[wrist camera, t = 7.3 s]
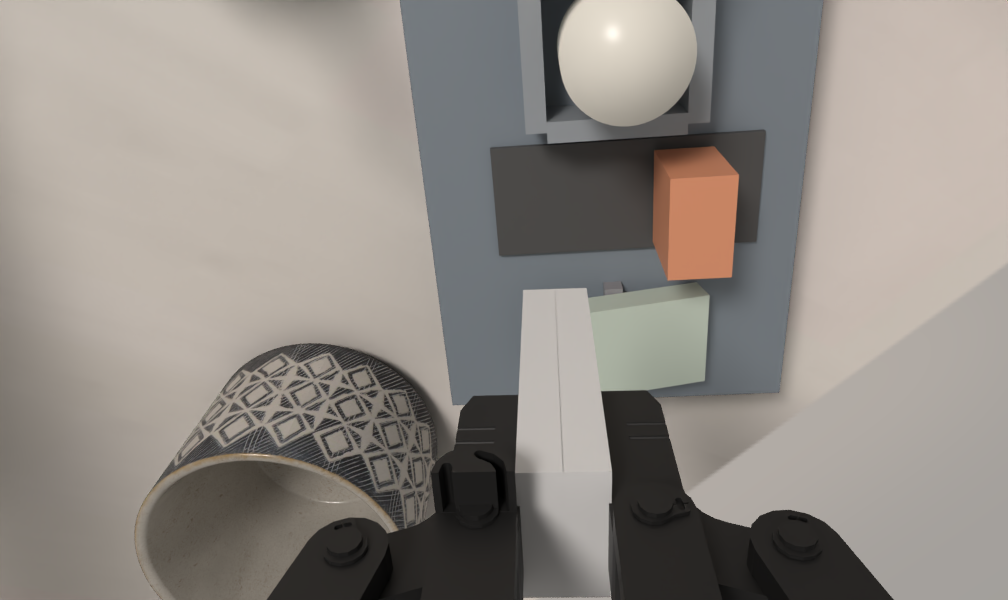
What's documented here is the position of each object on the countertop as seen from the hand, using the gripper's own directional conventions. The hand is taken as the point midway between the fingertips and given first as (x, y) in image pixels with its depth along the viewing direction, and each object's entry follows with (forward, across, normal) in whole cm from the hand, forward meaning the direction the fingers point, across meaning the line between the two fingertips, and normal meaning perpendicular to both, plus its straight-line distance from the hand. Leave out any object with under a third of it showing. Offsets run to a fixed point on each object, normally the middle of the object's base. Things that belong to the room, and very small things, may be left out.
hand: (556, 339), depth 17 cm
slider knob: (+14, +6, -1) cm, 15 cm away
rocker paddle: (+13, +3, -8) cm, 15 cm away
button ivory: (+12, +2, +5) cm, 13 cm away
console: (+18, +3, +2) cm, 19 cm away
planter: (+19, -13, -16) cm, 28 cm away
